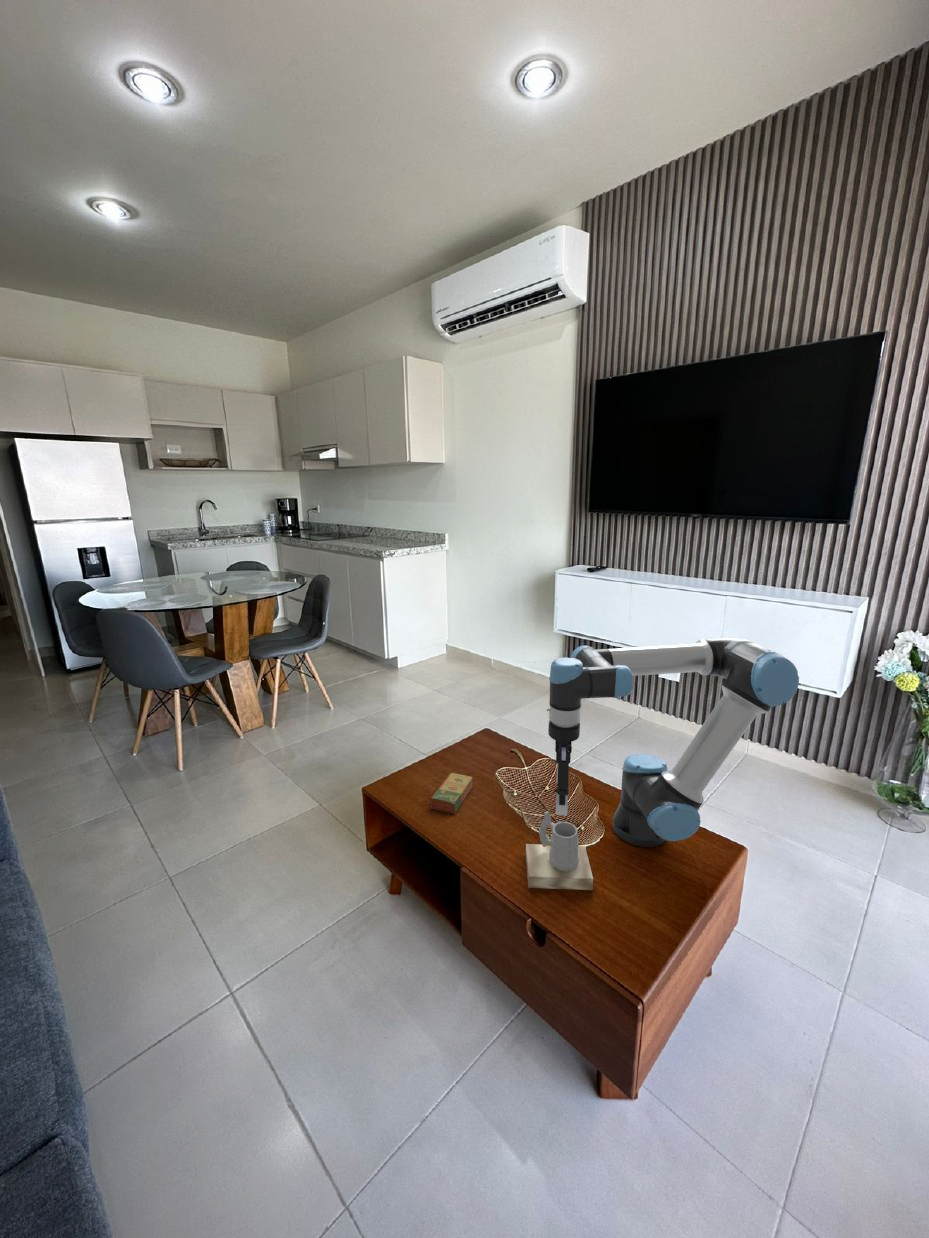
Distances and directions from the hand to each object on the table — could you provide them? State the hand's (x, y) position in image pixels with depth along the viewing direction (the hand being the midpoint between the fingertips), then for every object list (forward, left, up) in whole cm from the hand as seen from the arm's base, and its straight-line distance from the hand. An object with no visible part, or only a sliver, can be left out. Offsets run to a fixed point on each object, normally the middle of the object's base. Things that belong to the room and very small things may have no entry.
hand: (561, 797), depth 129 cm
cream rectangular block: (0, +1, -22) cm, 22 cm away
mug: (0, 0, -18) cm, 18 cm away
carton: (+34, -27, -22) cm, 49 cm away
